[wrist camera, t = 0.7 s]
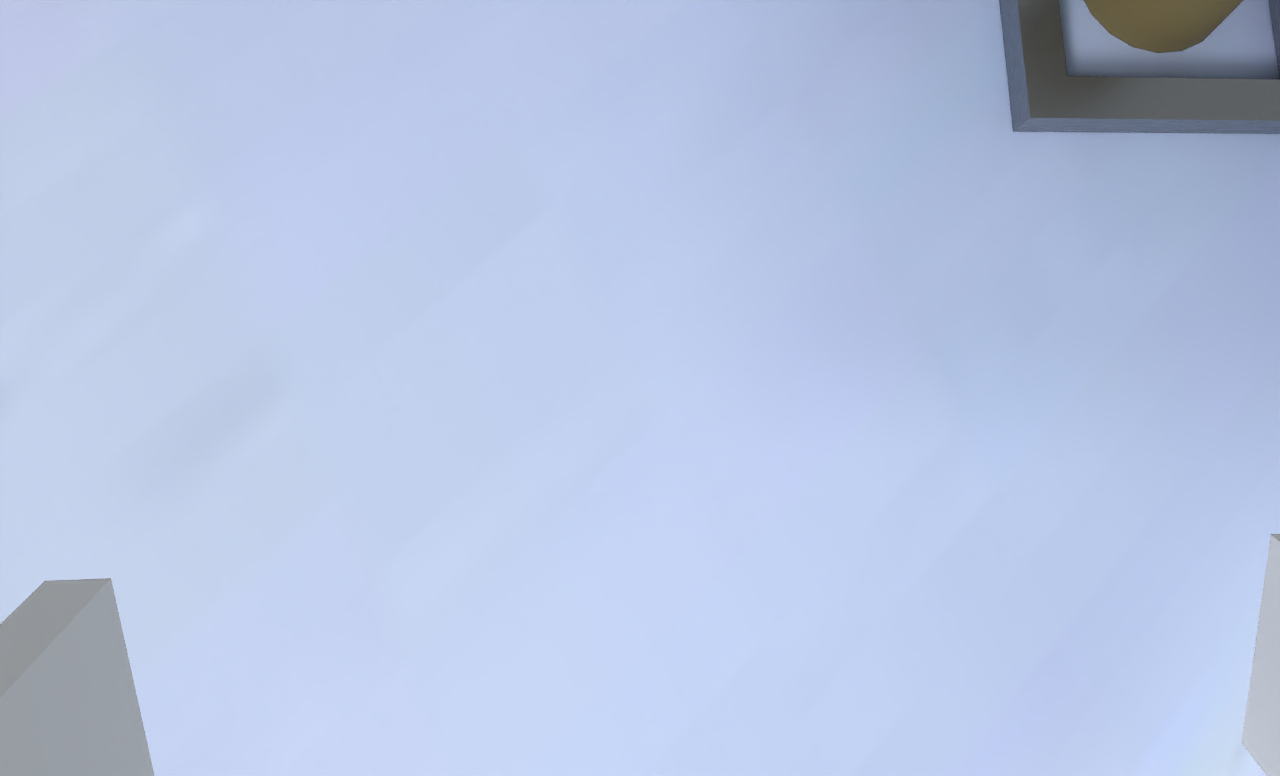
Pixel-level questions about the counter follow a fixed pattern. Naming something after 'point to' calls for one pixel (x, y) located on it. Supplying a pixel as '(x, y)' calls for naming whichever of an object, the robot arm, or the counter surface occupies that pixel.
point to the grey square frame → (1122, 87)
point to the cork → (1161, 21)
